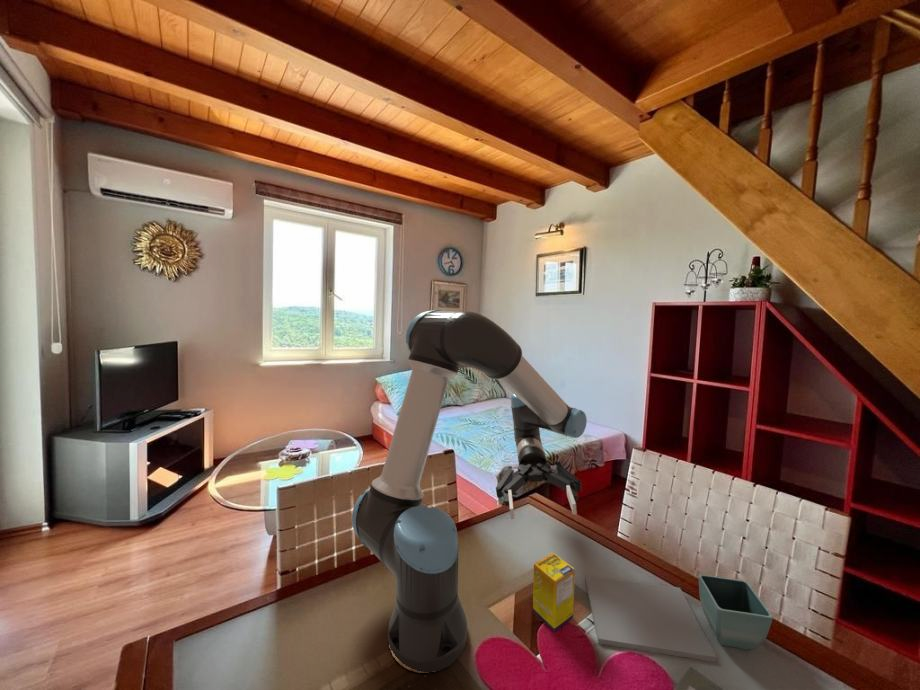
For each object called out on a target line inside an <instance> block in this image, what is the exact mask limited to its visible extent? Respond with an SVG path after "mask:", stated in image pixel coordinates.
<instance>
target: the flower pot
mask: <svg viewBox="0 0 920 690" xmlns="http://www.w3.org/2000/svg"><path fill="white" fill-rule="evenodd" d="M698 591H699V592H698V593H699V600H700V604H701V608H702V611H703V613H704V616H705V617H706V620H707V622H708V623H709V626H710V628H711V629H712V630H711V631H713V633H714V635H715V637H716V640H717V641H718V643H719V644H720V645H722V646H727V647H732V648H738V649H744V650H745V649H746V650H752V649H755V648H757V647H759V646H761V645H762V644H763V642H764V641H765V640H766V638H767V636H768V634H769V632H770V631H769V630H770V628H771V624H772V622H773V619H774V616H773V614H772V612H771V611H770V610H769V609H768V607H767V606H766V605H765V603H764V602H763V601H762V599H761V598H760V597H759V595H758V593H756V592H755V590H754V589H753V587H752V586H751V584H750V583H749V582H748V581H747V580H743V579H739V578H738V579H737V578H730V577H729V578H728V577H721V576H715V575H708V574H698Z"/></svg>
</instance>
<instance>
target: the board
mask: <svg viewBox="0 0 920 690" xmlns="http://www.w3.org/2000/svg"><path fill="white" fill-rule="evenodd" d="M584 580H585V585H586V591H587V597H588V601H589V605H590V612H591V614H592V621H593V624H594V630H595V634H596V639H597V644H599V645H607V646H612V647H620V648H625V649H631V650H632V649H633V650H637V651H645V652H650V653H657V654H664V655H670V656H676V657H680V658H681V657H683V658H688V659H693V660H694V659H695V660H701V661H707V662H708V661H709V662H714V663H717V654H716V653H715V651H714V649H713V647H712V645H711V644H710V642H709V640H708V638H707V636H706V634H705V632H704V631H703V629H702V626H701V625H700V623H699V621H698V619H697V617H696V616H695V613H694V611H693V610H692V608H691V606H690V604H689V603H688V600H687V598H686V597H685V595H684V593H683V591H682V589H681V587H677V586H668V585H661V584H654V583H646V582H637V581H630V580H621V579H616V578H615V579H614V578H607V577H600V576H599V577H598V576H592V575H585V576H584Z"/></svg>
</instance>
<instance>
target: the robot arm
mask: <svg viewBox="0 0 920 690" xmlns="http://www.w3.org/2000/svg"><path fill="white" fill-rule="evenodd" d="M405 343H406V345H407V349H408V351H409V352H410V353H409V355H408V360H407V362H408V363H409V366H410V368H411V373H410V376H409V379H408V383H407V386H406V390H405V393H404V398H403V400H402V403H401V407H400V411H399V413H398V417H397V421H396V423H395V424H396V425H395V428H394V431H393V434H392V437H391V441H390V445H389V448H388V451H387V455H386V458H385V462H384V465H383V468H382V471H381V474H380V476H378V477H376V478H375V479H373V480H372V482H371V484H370V487H368V488H367V489H365V490H364V492H363V494H360V495H359V497H358V498H357V499H356V501H355V504H354V505H353V509H352V514H351V525H352V528H353V529H352V530H353V531H354V533H355V535H356V536H357V537H358V540H359V541H360V542H361V543H362V545H363V546H364V547H366V548H367V549H369V550H370V552H372V554H373V555H375V557H377V559H378V560H379V561H380V562H381V563H383V565H385V567H387V569H388V570H390V572H391V573H392V574H393V575H394V577H395V578H394V579H395V588H396V589H395V596H396V600H395V603H394V606H393V609H392V613H391V616H390V618H389V623H388V626H387V627H388V629H387V642H388V641H389V645H390V648H391V650H392V651H393V653H394V654H395V656H396V657H397V658H398V659H399V660H400V661H401V662H402V663H403V664H405V665H406V666H408V667H410V668H412V669H415V670H417V671H421V672H422V671H423V672H432V671H438V670H441V671H443V670H445V669H446V667H447V666H448V667H450V666H452V665H453V664H454V663H455V662H456V661H457V660H458V659H459V658H460V656H461V655H462V653H463V652H462V651H464V650H463V649H465V647H466V644H467V641H466V640H467V639H468V622H467V616H466V614H465V610H464V608H463V605H462V603H461V599H460V597H459V595H458V594H459V593H458V592H459V590H458V589H459V585H458V584H459V548H460V547H459V546H460V545H459V543H460V542H459V539H458V530H457V526H456V524H455V521H454V520H453V518H452V517H451V516H450V515H449V514H448V513H447V512H446V511H444V510H442V509H440V508H438V507H436V506H431V507H429V506H428V505H422V502H423V499H424V492H423V490H422V488H421V486H420V484H421V481H422V477H423V473H424V469H425V465H426V463H427V459H428V455H429V452H430V448H431V445H432V442H433V441H432V440H433V437H434V433H435V430H436V425H437V422H438V420H439V415H440V412H441V408H442V405H443V401H444V398H445V394H446V391H447V388H448V384H449V381H450V380H451V379H452V378H454V377H455V376H457V375H458V373H459V368H460V366H463V367H468V368H472V369H474V370H478V371H480V372H482V373H483V374H485V375H486V377H488V379H492V380H498V381H499V382H500V383H502V385H504V386H505V387H506V388H507V390H508V391H510V392H511V394H510V408H511V413H512V414H511V415H512V416H511V417H512V421H513V422H512V423H513V432H514V433H513V435H514V441H515V446H516V455H517V462H518V467H517V468H513V466H512V465H509V466H507V468H506V469H507V471H506V472H505V473H504V475H503V476H502V478H501V479H500V481H499V482H498V483H497V484H496V486H495V491H496V492H495V493H496V498H498V499H500V498H503V501H504V506H505V507H509V513H510V514H509V515H510V519H511V520H515V512H514V502H513V495H514V494H515V493H516V492H518V490H520V488H522V487H523V486H526V485H527V484H528V483H535V482H543V481H544V482H545V483H547V484H552V485H554V486H556V487H558V488H560V489H561V490H563V491H565V492H566V497H567V499H568V503H569V506H570V509H571V512H572V515H577V513H578V511H577V503H576V502H578V492H579V493H580V492H582V481H581V480H580V479H579V478H578V477H577V476H575V475H574V474H573V473H571V472H570V471H569V470H567V469H566V468H565V467H564V466H562V464H561V462H559V461H555V464H553V465H550V464H549V463H548V460H547V457H546V454H545V450H544V446H543V444H542V443H543V442H542V440H541V431H540V429H543V430H547V431H550V432H553V433H557V434H559V435H562V436H564V437H570V438H575V439H578V438H580V437H581V436H582V435H583V434H584V432H585V430H586V427H587V423H588V422H587V419H588V418H587V416H586V415H587V414H586V413H585V412H584V411H583V410H581V409H578V408H577V407H571V406H569V404H567V403H566V401H564V400H563V399H562V398H561V396H560V395H559V394H558V393H557V392H556V391H555V389H553V388H552V386H551V385H549V383H548V382H547V381H546V380H545V379H544V378H543V377H542V376H541V375H540V373H538V372H539V371H537V370H536V369H535V368H534V367H533V366H532V364H531V363H530V362H529V361H528V360H527V359H526V358H525V357H524V356H523V350H522V348H521V345H519V343H518V342H516V340H515V339H514V338H513V337H512V336H511V335H510V334H509V333H508V332H507V331H506V330H504V328H502V327H501V326H499V325H498V324H497V323H496V322H494V320H491V319H489V317H486V316H485V315H482V314H480V313H478V312H474V311H467V310H466V311H465V310H463V311H461V310H460V311H456V310H443V309H433V310H427V311H423V312H421V313H420V314H418V315H416V316H415V317H414V318H413V319H412V320H411V322H410V323H409V325H408V327H407V330H406V334H405ZM516 475H517V476H516ZM389 645H388V646H389ZM460 654H461V655H460ZM457 658H458V659H457ZM448 667H447V668H448ZM444 668H445V669H444ZM442 669H443V670H442ZM438 672H439V671H438Z"/></svg>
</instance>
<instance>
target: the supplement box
mask: <svg viewBox="0 0 920 690" xmlns="http://www.w3.org/2000/svg"><path fill="white" fill-rule="evenodd" d="M575 570H576V568H574V567H573V566H572V565H571V564H569V563H568V562H566V561H565V560H564V559H562V558H561V557H560V556H558V555H557V554H556V553H554V552H552V553H550V554H548V555H546V556H545V557H543V558H542V559H540V560H537V561H536V562H534V563H533V585H532V586H533V587H532V589H533V590H532V612H533V613H534V614H535V616H537V617H538V618H539V619H540V620H541V621H542V622H543V623H544V624H545V625H546V626H548V628H549V629H550V630H551V631H553V632H556V631H558V630H559V629H560V628H561V627H563V626H564V625H566V623H567V622H569V621H571V620H572V619H573V618H574V602H575V601H574V599H575V578H576V577H575V573H576V572H575Z"/></svg>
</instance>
